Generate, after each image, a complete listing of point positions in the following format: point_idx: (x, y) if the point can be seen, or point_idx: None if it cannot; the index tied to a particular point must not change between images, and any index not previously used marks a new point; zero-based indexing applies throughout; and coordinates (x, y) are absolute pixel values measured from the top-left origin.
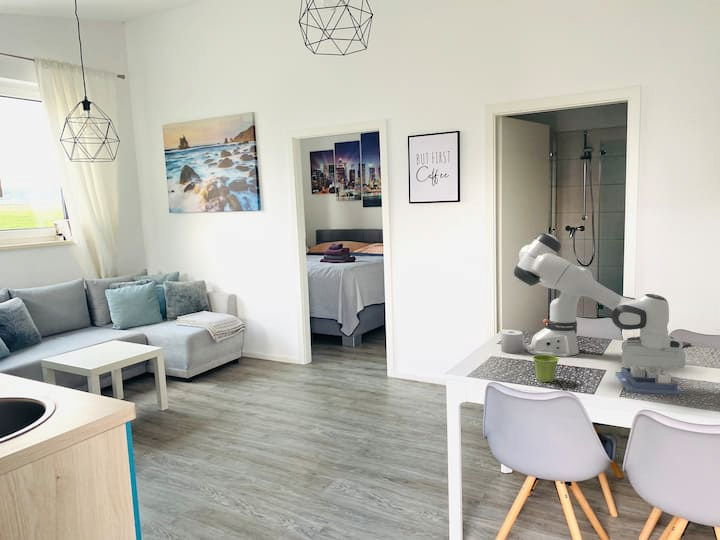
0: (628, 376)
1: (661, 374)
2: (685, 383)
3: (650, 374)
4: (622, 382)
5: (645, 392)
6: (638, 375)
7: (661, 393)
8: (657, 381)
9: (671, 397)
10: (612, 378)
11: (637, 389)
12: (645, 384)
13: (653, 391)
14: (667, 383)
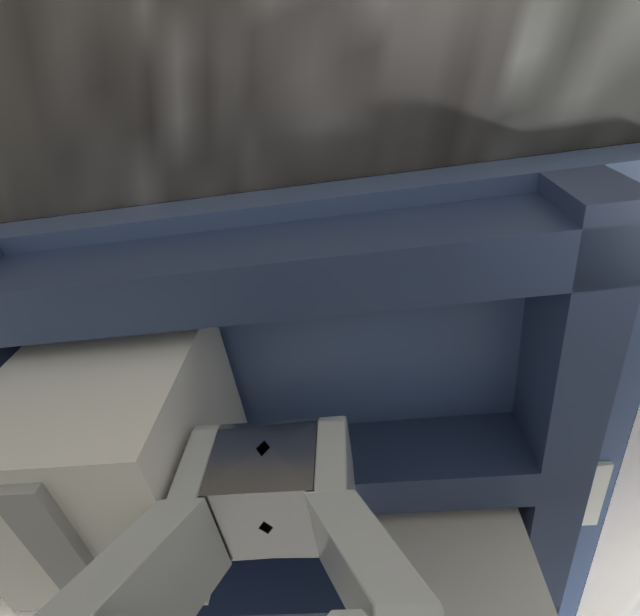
0: (581, 514)
1: (81, 503)
2: None
3: (305, 483)
4: (620, 432)
5: (396, 173)
6: (451, 539)
7: (176, 202)
8: (198, 384)
9: (20, 41)
10: (626, 546)
11: (533, 170)
12: (413, 240)
13: (280, 196)
14: (50, 356)
